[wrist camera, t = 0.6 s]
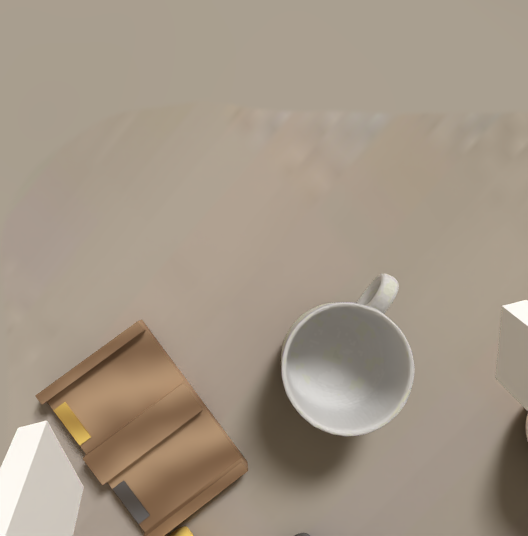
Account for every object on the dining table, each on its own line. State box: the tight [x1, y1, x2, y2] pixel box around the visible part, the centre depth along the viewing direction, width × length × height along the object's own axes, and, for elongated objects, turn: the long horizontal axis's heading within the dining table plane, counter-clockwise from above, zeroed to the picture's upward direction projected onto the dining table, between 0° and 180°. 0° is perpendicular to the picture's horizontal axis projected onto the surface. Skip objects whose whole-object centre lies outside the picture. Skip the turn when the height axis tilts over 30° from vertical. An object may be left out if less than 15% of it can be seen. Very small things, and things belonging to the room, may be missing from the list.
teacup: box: [281, 274, 414, 436], centre depth 39 cm, size 14×11×8 cm
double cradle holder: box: [36, 320, 248, 536], centre depth 41 cm, size 17×11×2 cm, turn 36°
